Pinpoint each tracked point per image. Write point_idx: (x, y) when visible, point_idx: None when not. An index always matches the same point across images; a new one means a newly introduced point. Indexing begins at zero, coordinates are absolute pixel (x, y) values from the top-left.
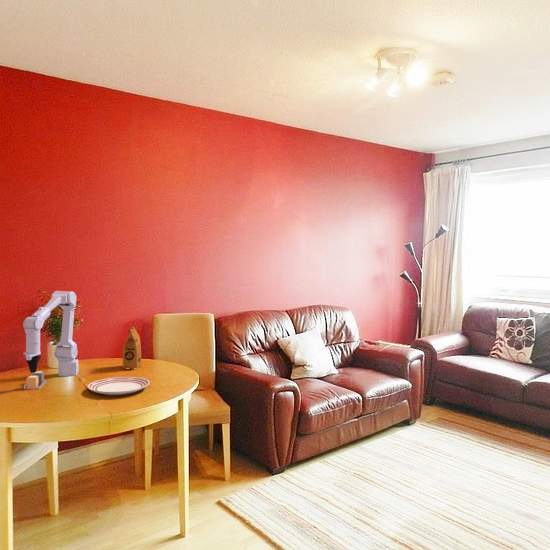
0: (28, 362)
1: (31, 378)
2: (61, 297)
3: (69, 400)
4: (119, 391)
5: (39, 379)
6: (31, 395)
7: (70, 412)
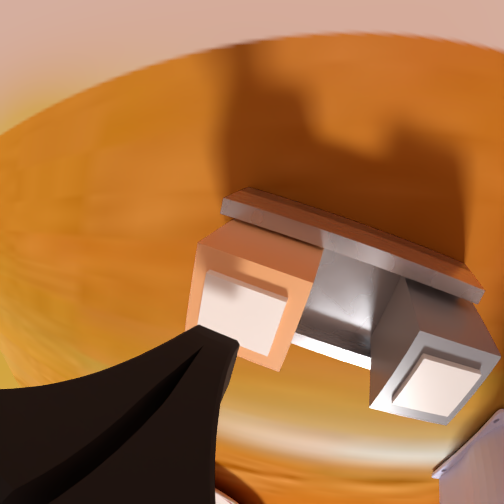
0: (32, 403)
1: (190, 293)
2: None
3: (72, 361)
4: None
5: (378, 350)
6: (151, 235)
7: (4, 321)
